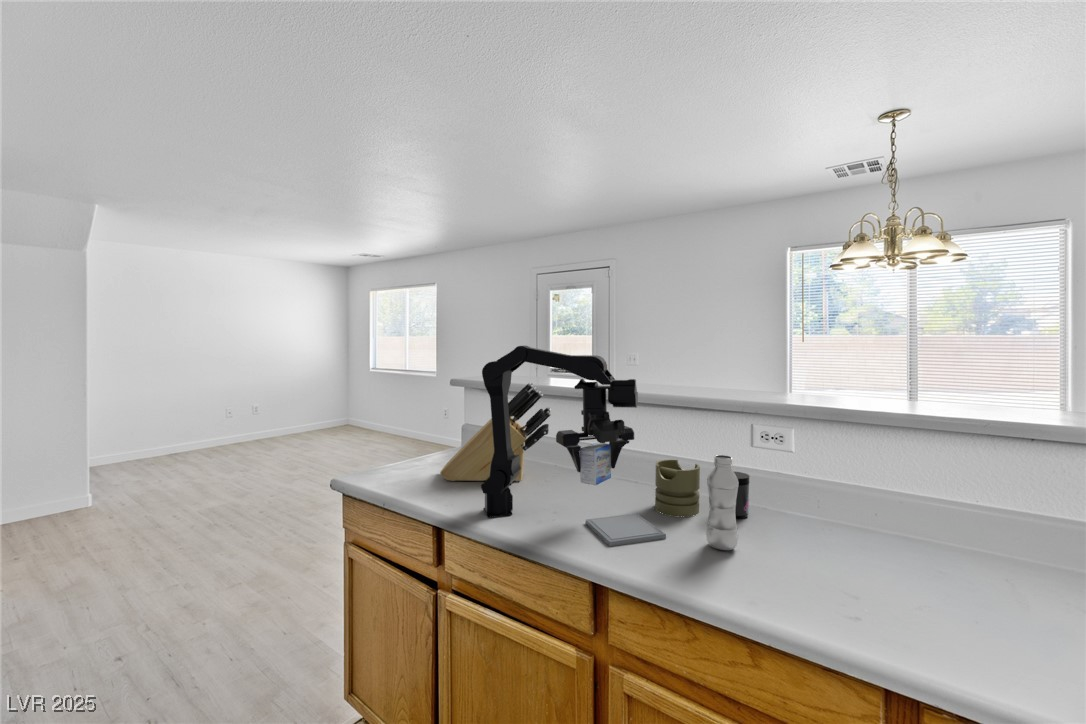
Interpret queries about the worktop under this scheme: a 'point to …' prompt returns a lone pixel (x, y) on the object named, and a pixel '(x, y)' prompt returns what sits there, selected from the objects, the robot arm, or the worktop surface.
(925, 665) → the worktop surface
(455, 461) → the knife block
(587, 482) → the medicine box
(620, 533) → the slate pad
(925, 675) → the worktop surface
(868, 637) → the worktop surface
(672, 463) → the piston
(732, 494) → the plastic bottle
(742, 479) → the supplement container
